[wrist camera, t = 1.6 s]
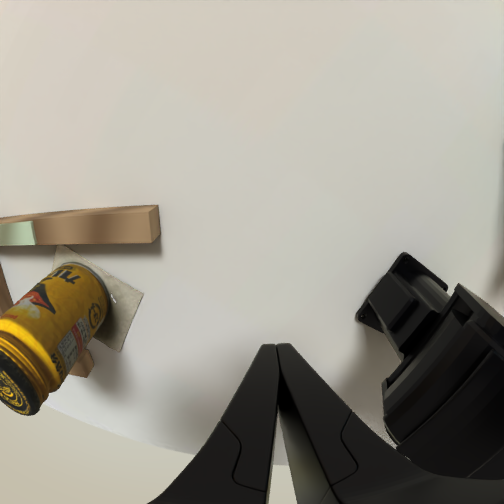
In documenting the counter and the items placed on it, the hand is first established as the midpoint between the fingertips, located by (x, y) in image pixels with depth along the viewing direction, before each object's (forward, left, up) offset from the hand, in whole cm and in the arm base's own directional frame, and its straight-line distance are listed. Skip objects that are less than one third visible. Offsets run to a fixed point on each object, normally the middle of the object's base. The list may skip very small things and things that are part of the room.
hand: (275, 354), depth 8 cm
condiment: (+10, +12, -12) cm, 20 cm away
